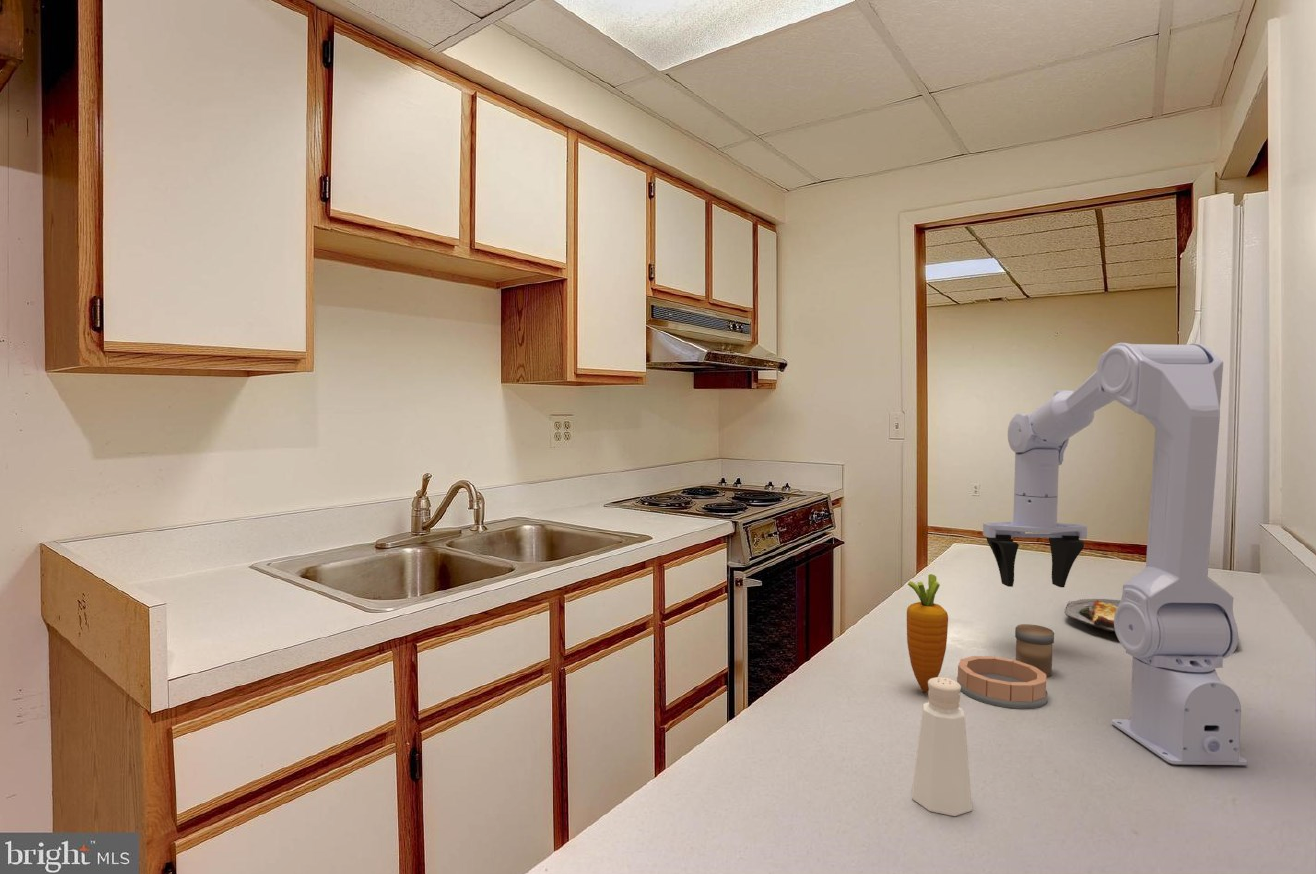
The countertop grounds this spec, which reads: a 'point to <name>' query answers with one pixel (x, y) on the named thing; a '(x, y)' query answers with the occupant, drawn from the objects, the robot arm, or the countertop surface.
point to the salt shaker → (942, 752)
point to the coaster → (1002, 682)
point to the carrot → (926, 633)
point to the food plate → (1094, 612)
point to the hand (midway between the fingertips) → (1032, 585)
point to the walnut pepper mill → (1035, 646)
